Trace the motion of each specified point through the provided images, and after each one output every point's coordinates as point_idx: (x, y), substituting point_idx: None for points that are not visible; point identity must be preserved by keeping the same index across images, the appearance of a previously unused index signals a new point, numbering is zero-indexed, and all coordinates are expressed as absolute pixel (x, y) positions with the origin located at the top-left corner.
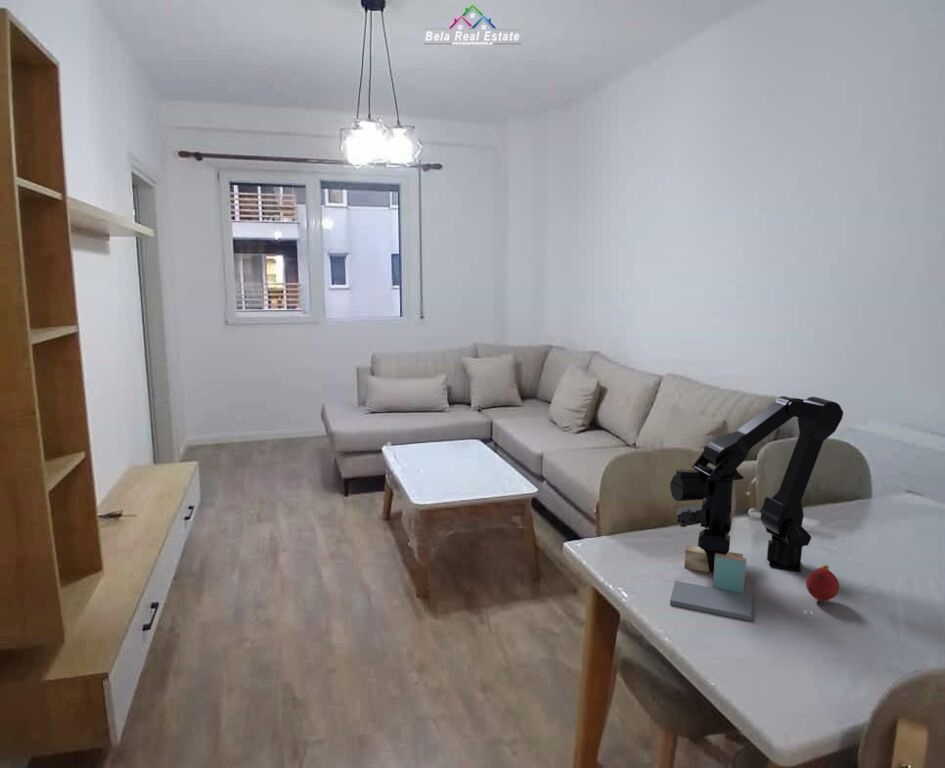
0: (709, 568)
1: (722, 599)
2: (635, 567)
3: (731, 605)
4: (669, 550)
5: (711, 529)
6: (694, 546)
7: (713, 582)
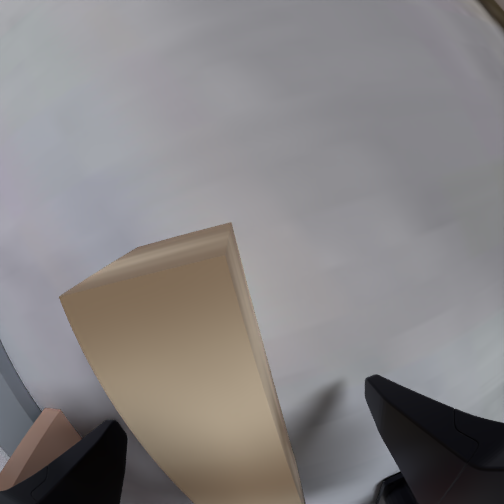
0: (91, 435)
1: (12, 434)
2: (20, 48)
3: (13, 448)
4: (360, 70)
5: (490, 496)
6: (246, 360)
7: (29, 431)
